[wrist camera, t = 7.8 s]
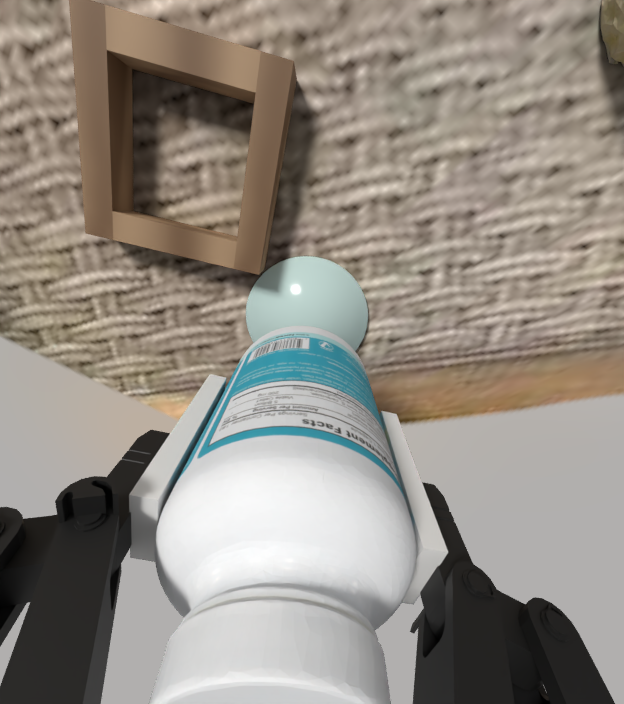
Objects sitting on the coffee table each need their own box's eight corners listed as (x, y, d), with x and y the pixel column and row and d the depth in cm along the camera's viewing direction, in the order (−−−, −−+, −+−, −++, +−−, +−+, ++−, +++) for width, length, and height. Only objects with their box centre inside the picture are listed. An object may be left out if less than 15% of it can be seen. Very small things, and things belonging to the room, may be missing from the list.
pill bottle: (306, 450, 20) (285, 822, 8) (214, 382, 18) (-6, 739, 6) (393, 378, 18) (557, 750, 6) (298, 291, 16) (221, 572, 4)
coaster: (239, 357, 30) (238, 359, 30) (257, 241, 25) (256, 242, 25) (348, 381, 31) (348, 383, 30) (384, 273, 26) (384, 274, 26)
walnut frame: (108, 230, 25) (85, 233, 23) (100, 21, 20) (68, -7, 17) (264, 268, 26) (259, 274, 24) (296, 79, 21) (293, 61, 18)
